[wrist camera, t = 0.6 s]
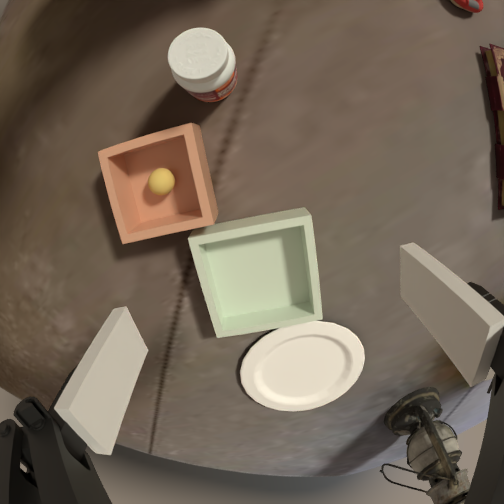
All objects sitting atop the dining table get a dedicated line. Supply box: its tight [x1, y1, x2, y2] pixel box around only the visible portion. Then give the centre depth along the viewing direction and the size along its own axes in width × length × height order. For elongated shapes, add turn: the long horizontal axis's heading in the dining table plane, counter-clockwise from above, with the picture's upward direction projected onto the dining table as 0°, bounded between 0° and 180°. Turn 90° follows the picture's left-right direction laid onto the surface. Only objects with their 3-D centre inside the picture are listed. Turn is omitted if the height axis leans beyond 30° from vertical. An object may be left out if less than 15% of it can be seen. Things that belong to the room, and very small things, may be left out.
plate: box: [240, 320, 365, 411], centre depth 46 cm, size 21×21×2 cm
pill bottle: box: [168, 28, 237, 102], centre depth 26 cm, size 6×6×11 cm
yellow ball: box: [148, 168, 175, 195], centre depth 33 cm, size 3×3×3 cm
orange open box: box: [98, 123, 218, 244], centre depth 32 cm, size 11×11×6 cm
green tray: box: [188, 207, 323, 338], centre depth 38 cm, size 14×14×4 cm
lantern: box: [380, 387, 470, 504], centre depth 40 cm, size 19×19×30 cm
